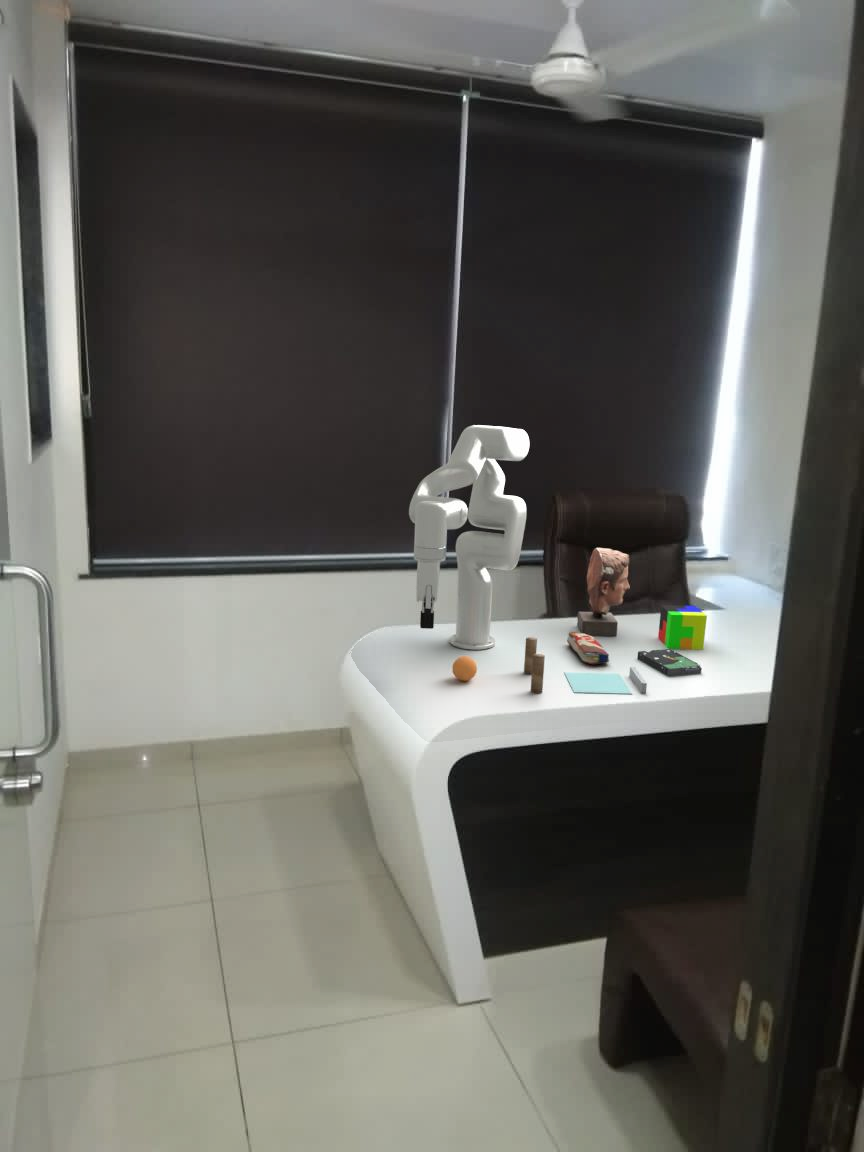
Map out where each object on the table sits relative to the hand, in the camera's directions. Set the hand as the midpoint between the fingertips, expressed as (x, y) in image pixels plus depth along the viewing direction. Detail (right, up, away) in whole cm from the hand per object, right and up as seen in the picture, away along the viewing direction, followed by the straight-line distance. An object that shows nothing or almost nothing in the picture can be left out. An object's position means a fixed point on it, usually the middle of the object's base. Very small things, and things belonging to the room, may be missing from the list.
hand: (426, 627), depth 217 cm
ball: (+9, -10, +3) cm, 14 cm away
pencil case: (+43, -10, +26) cm, 52 cm away
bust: (+51, -4, +49) cm, 71 cm away
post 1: (+26, -12, +11) cm, 31 cm away
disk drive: (+64, -12, +20) cm, 68 cm away
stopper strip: (+52, -14, +5) cm, 54 cm away
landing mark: (+42, -14, +5) cm, 45 cm away
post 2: (+26, -15, -2) cm, 30 cm away
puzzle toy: (+72, -7, +40) cm, 83 cm away
